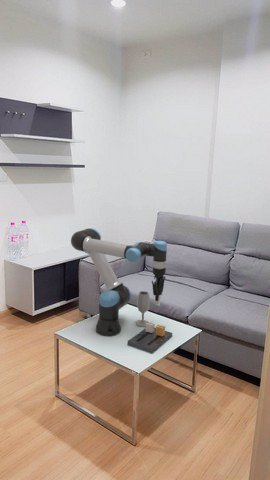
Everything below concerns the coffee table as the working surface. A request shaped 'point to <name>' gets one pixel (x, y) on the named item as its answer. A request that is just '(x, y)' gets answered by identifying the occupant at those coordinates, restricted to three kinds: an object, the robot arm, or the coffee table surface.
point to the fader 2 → (160, 330)
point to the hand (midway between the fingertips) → (157, 305)
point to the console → (149, 340)
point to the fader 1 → (150, 327)
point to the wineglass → (143, 306)
